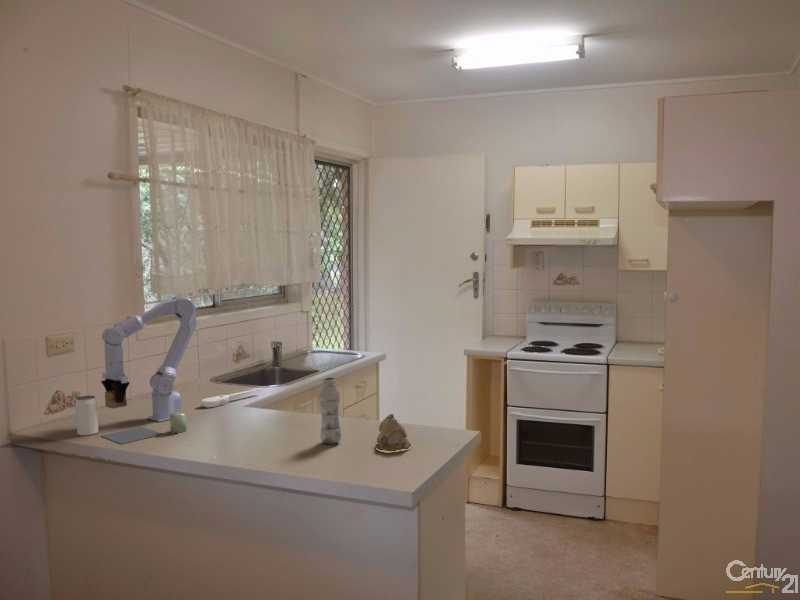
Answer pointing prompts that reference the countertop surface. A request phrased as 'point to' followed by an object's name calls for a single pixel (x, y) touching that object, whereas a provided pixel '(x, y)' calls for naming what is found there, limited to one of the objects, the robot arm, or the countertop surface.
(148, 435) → the slate mat
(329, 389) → the plastic bottle
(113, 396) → the walnut block
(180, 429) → the sage cylinder
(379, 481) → the countertop surface
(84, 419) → the can
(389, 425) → the ceramic model
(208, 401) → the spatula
